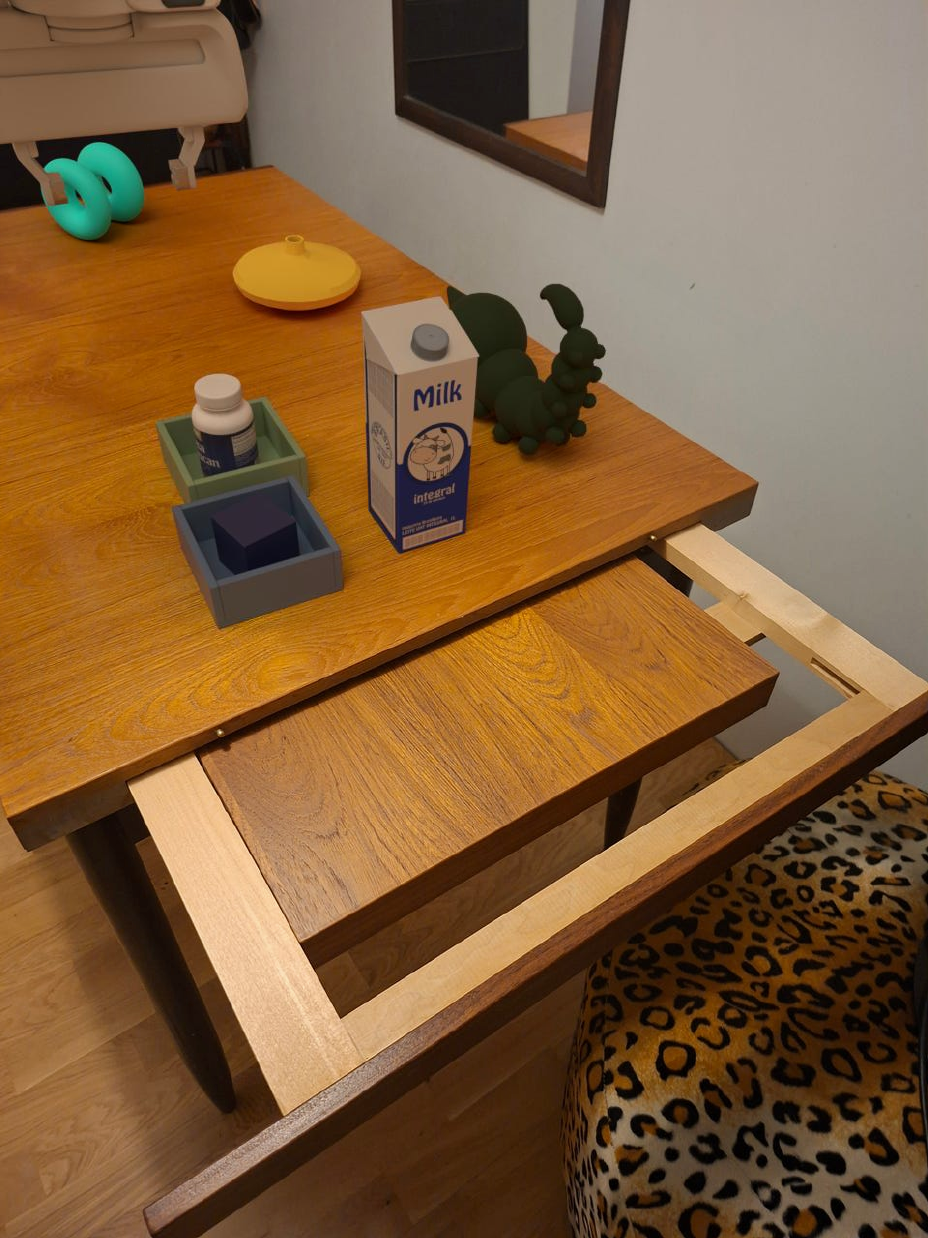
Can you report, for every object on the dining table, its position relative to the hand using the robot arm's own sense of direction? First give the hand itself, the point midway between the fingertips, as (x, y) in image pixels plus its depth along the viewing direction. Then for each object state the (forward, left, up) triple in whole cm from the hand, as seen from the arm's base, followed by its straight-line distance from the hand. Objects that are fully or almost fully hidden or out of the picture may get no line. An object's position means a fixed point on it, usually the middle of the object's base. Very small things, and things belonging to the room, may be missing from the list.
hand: (122, 194), depth 66 cm
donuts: (+5, +58, -26) cm, 63 cm away
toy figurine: (+33, -5, -26) cm, 42 cm away
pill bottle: (+4, -4, -25) cm, 26 cm away
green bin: (+4, -3, -26) cm, 26 cm away
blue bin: (+2, -16, -26) cm, 30 cm away
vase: (+23, +30, -26) cm, 45 cm away
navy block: (+2, -16, -25) cm, 30 cm away
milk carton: (+17, -16, -26) cm, 35 cm away
